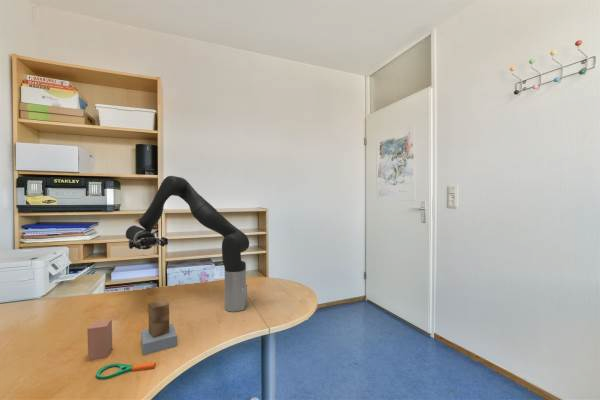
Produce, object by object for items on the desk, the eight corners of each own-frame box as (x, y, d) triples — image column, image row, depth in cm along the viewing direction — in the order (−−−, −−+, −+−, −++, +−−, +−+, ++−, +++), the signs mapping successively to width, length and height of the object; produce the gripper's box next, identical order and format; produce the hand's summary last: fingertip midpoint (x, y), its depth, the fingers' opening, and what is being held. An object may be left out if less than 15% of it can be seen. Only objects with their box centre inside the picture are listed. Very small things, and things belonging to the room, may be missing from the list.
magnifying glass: (91, 382, 76) (91, 376, 76) (102, 368, 82) (102, 363, 82) (151, 375, 79) (151, 369, 79) (157, 362, 85) (157, 356, 85)
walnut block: (164, 327, 98) (163, 299, 98) (169, 332, 95) (169, 303, 95) (148, 332, 95) (148, 303, 95) (153, 338, 91) (153, 308, 91)
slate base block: (172, 333, 102) (172, 323, 102) (177, 347, 93) (177, 335, 93) (141, 341, 96) (141, 330, 96) (143, 356, 88) (142, 344, 88)
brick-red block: (112, 348, 91) (111, 319, 91) (107, 357, 87) (106, 326, 86) (94, 351, 90) (93, 321, 89) (88, 360, 85) (87, 328, 85)
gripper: (125, 232, 120) (131, 238, 107) (161, 229, 128) (170, 234, 116) (125, 249, 120) (131, 257, 107) (161, 245, 129) (171, 252, 116)
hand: (151, 245), depth 112 cm, fingers open, 8 cm apart
